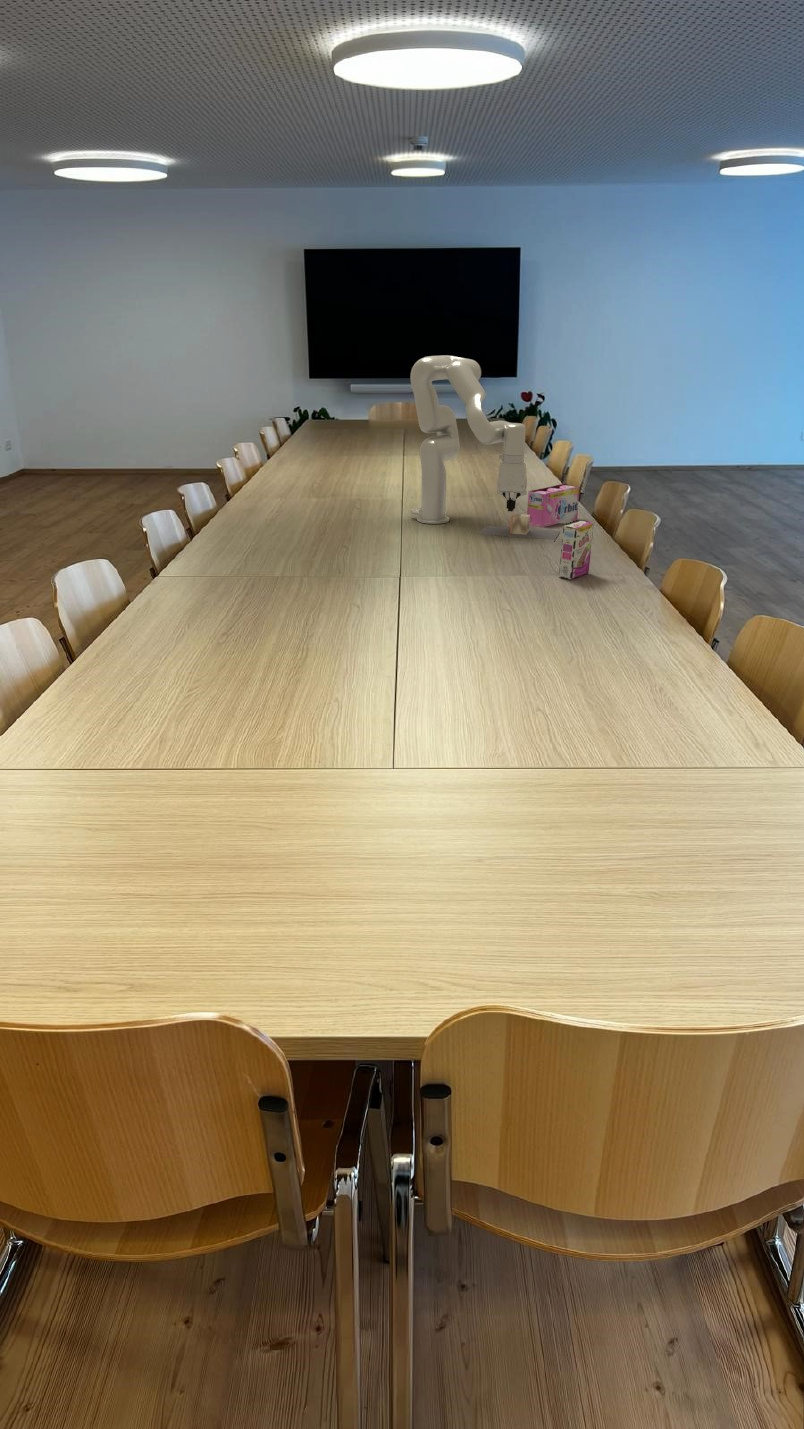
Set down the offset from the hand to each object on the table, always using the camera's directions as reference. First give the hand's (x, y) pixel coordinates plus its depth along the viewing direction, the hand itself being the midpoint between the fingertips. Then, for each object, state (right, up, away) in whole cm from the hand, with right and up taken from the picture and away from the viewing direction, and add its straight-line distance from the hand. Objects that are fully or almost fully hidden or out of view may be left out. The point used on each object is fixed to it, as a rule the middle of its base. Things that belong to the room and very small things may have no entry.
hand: (510, 510), depth 355 cm
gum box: (+18, -1, +20) cm, 27 cm away
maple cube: (+1, -4, +2) cm, 5 cm away
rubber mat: (+3, -8, +3) cm, 9 cm away
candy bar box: (+15, -31, -47) cm, 58 cm away
